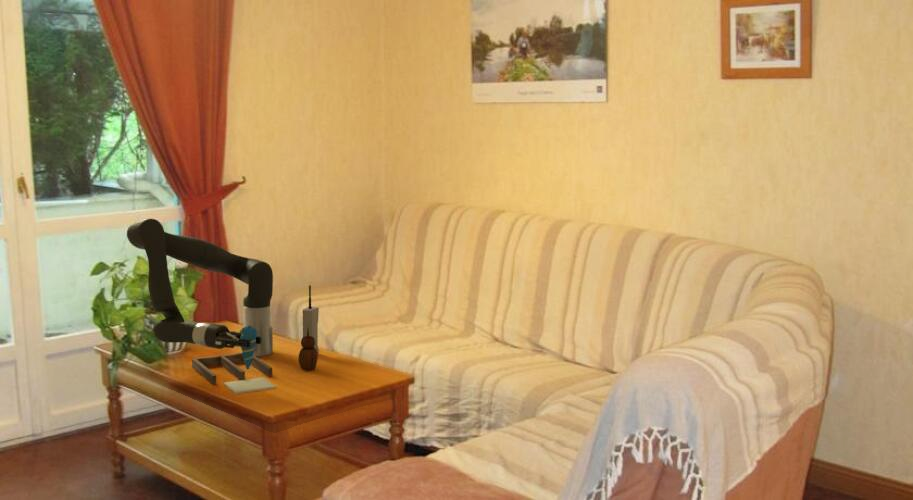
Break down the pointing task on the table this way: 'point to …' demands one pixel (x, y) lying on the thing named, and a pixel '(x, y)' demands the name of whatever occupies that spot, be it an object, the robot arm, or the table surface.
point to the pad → (249, 385)
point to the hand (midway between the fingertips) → (255, 342)
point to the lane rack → (227, 366)
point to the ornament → (251, 335)
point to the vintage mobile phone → (311, 321)
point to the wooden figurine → (308, 353)
